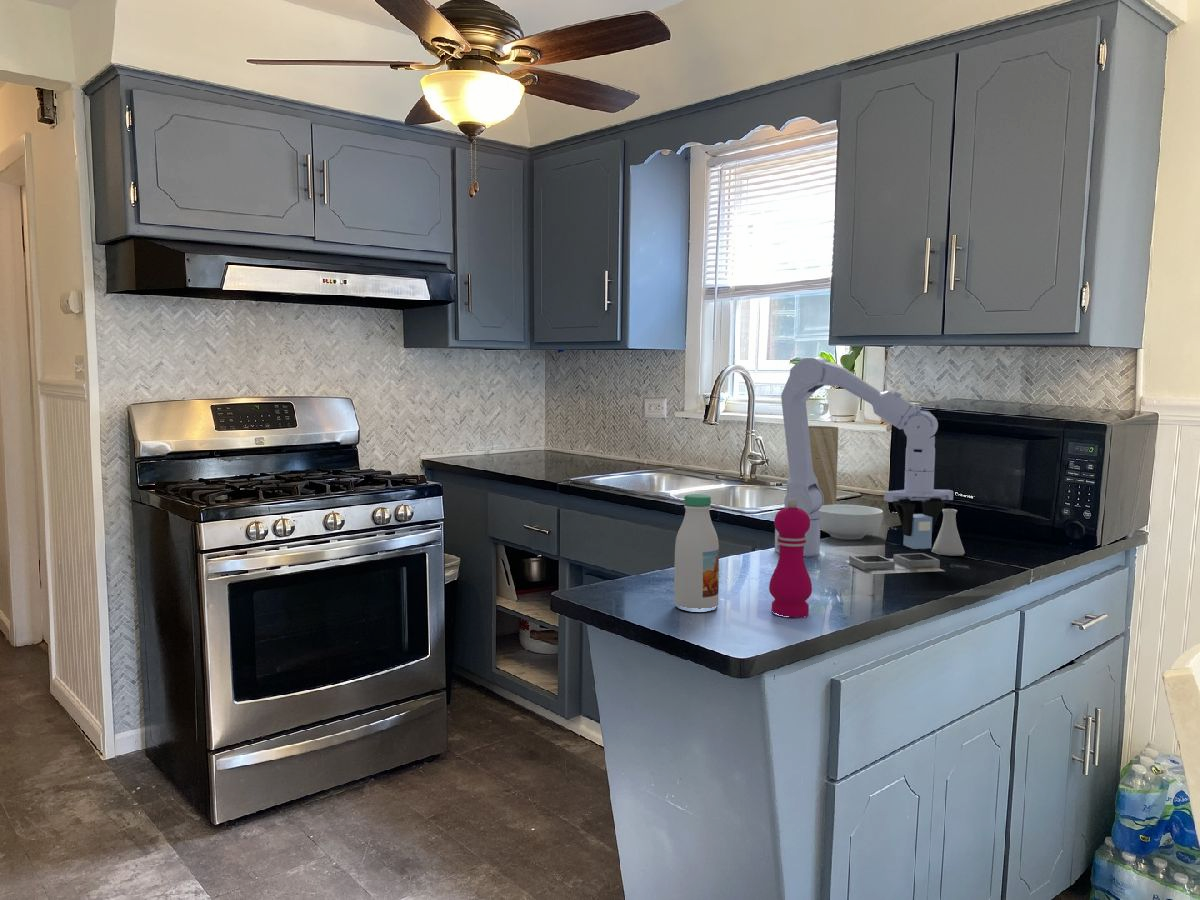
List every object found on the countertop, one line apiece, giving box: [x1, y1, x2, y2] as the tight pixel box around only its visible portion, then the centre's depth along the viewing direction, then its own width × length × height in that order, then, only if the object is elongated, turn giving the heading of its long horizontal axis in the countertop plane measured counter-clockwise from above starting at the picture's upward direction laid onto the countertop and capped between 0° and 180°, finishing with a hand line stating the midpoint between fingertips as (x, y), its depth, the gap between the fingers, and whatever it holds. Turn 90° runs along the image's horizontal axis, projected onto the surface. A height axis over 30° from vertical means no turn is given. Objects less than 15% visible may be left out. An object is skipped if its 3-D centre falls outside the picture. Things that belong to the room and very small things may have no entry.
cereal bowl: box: [818, 504, 884, 541], centre depth 221 cm, size 17×17×7 cm
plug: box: [902, 513, 933, 550], centre depth 185 cm, size 4×5×6 cm
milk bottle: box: [673, 493, 720, 609], centre depth 156 cm, size 8×8×20 cm
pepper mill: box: [768, 498, 813, 618], centre depth 152 cm, size 7×7×20 cm
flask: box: [931, 508, 966, 557], centre depth 201 cm, size 7×7×10 cm
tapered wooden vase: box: [808, 425, 839, 505], centre depth 249 cm, size 10×10×25 cm
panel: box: [845, 552, 946, 575], centre depth 185 cm, size 17×12×3 cm
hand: (917, 534), depth 185 cm, fingers closed on plug, 4 cm apart
